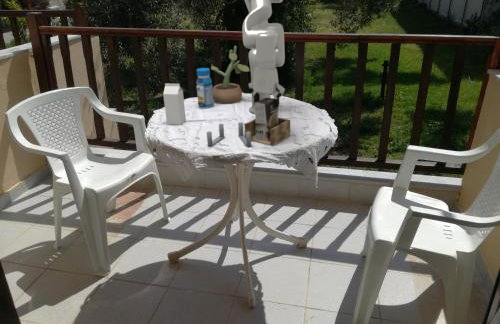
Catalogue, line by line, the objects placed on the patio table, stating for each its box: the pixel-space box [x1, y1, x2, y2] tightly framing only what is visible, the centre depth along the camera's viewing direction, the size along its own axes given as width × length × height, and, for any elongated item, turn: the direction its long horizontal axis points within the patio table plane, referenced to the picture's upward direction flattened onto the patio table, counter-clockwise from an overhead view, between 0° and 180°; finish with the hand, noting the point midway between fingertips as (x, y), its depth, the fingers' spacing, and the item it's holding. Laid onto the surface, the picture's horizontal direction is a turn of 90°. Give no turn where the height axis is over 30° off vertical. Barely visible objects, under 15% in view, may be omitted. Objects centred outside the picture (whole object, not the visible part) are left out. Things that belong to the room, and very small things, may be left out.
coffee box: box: [254, 97, 279, 141], centre depth 179 cm, size 9×6×16 cm
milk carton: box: [162, 83, 187, 126], centre depth 201 cm, size 7×7×19 cm
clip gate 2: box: [237, 121, 252, 148], centre depth 179 cm, size 2×14×6 cm, turn 17°
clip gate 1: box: [206, 123, 225, 148], centre depth 179 cm, size 12×2×6 cm, turn 155°
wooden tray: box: [243, 117, 291, 147], centre depth 181 cm, size 14×14×7 cm
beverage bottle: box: [195, 67, 215, 109], centre depth 223 cm, size 8×8×20 cm
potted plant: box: [210, 45, 251, 104], centre depth 229 cm, size 22×18×30 cm
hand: (266, 105), depth 177 cm, fingers open, 9 cm apart
